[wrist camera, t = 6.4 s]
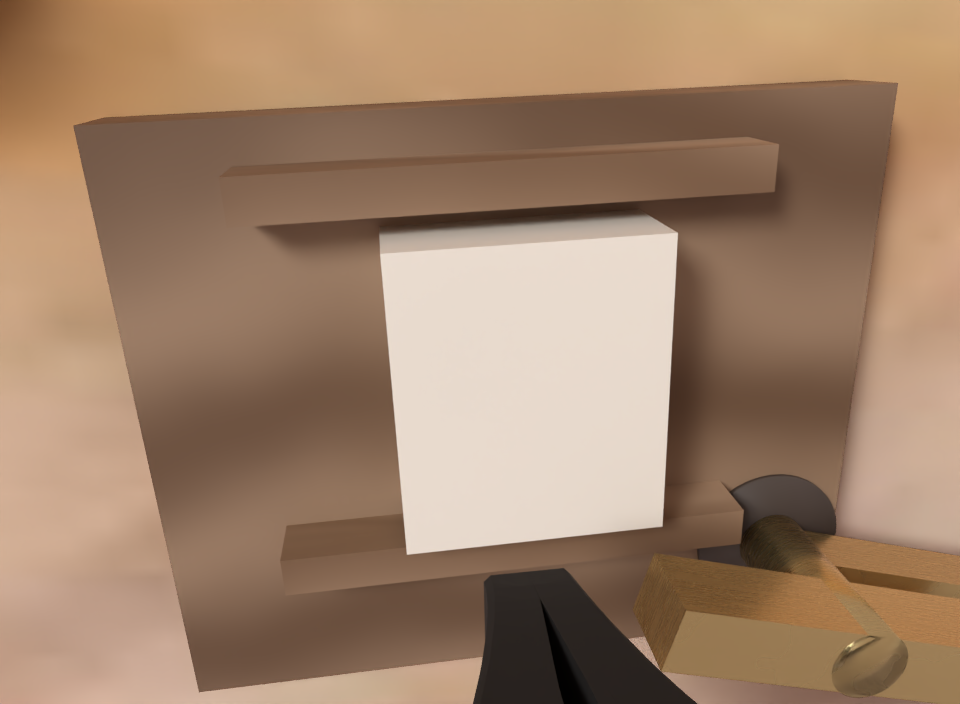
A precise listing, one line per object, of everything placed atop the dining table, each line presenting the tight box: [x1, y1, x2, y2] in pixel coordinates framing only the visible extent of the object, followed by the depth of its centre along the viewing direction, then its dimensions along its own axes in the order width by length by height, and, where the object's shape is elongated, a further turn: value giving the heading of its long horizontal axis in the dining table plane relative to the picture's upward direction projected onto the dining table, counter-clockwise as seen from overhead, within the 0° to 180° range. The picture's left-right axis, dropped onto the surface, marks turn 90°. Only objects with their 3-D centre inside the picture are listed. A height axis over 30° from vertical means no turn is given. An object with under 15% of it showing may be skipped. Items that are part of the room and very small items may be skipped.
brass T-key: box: [633, 515, 960, 704], centre depth 20 cm, size 12×2×5 cm, turn 75°
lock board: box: [74, 80, 898, 692], centre depth 20 cm, size 15×18×4 cm
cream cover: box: [379, 209, 678, 555], centre depth 18 cm, size 7×6×2 cm
